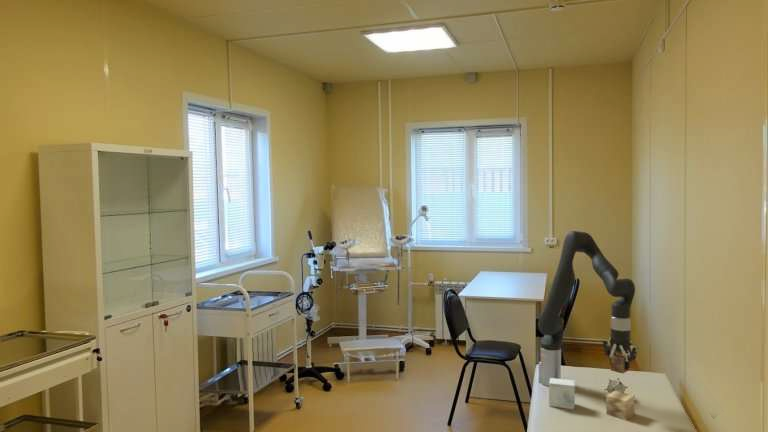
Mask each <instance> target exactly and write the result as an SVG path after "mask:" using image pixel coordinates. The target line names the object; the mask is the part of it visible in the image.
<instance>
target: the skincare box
mask: <svg viewBox="0 0 768 432" xmlns="http://www.w3.org/2000/svg"><path fill="white" fill-rule="evenodd" d="M575 394H576V381H575V380H574V379H573V380H570V379H564V378H561V379H555V378H550V381H549V386H548V407H555V408H560V409H569V410H575V406H576V405H575V402H576V401H575V400H576V399H575V398H576V397H575Z"/></svg>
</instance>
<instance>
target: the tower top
mask: <svg viewBox="0 0 768 432" xmlns="http://www.w3.org/2000/svg"><path fill="white" fill-rule="evenodd" d="M606 405H608V406H611V407H614V408H617V409H621V410H624V411H626V410H627V409H629V408H631V407H632V406H634V407H635V395H632V394H629V393H625V392H624V393H623V392H619V391H613V392H612V393H608V394H606V395H605V406H606Z"/></svg>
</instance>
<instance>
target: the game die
mask: <svg viewBox="0 0 768 432" xmlns="http://www.w3.org/2000/svg"><path fill="white" fill-rule="evenodd" d="M608 381H609V382H608V385H607V387H606V388H605V389H604V391H607V392H608V394H610V393H612V392H613V391H619V392H623V393H625V391H626V389H628V387H629V386H625V385H624V384H623V382H622V381H620V378H619V377H617V379H613V380H612V379H609V380H608Z"/></svg>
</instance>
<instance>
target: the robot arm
mask: <svg viewBox="0 0 768 432" xmlns="http://www.w3.org/2000/svg"><path fill="white" fill-rule="evenodd" d="M576 253H584V254H585V255H586V256H588V257H589V259H591V265H592V268H593V271H594V272H595V273H596V274H597V276H598V277H599V278H600V279H601V280H602V282H603V284H604V287H605V289H606V291H607V293H608V294H609V295H610V296H612V297H614V298H617V297H618V298H619V299H618V300H616V301H614V302H612V304H611V316H610V339H609V340H608V339H606V340H603V342H602V344H603V349H604V353H605V356H607V357H609V365H610V366H611V356H613V355H615V354H618V353H619V354H621V355H623V356H624V358H625V370H626V371H627V370H628V369H631V362H633V361H635V360H636V358H637V354H638V350H639V347H638V346H637V345H636V346H634V345H633V344H632V343H631V334H632V333H631V328H632V324H631V323H632V322H631V307H632V303H633V300H634V298H635V297H634V296H635V293H636V286H635V283H634V282H633V280H631V279H630V278H619V271H618V270H617V269H616V268H615V266H613V265H612V264H611V262H610V261H609V260H608V259H607V257H606V256H605V255H604V254H603V253H602V250H601V249H600V248H599V246H598V244H597V243H596V242H595V240H594V239H593V237H592V236H591V234H589V233H587V232H585V231H576V230H572V231H571V230H570V231H569V232H568V233H567V234H566V236H565V238H564V241H563V245H562V250H561V254H560V259H559V261H558V264H557V265H558V266H557V269H556V272H555V275H554V277H553V280H552V283H551V287H550V290H549V293H548V297H547V300H546V304H545V306H544V309H543V310H542V312H541V315H540V318H539V319H538V323H537V325H538V330H539V332H540V333H541V334H542V335H543V337H542V339H541V340H540V361H539V362H538V383H539V384H541V385H542V386H546V387H549V381H550V378H555V379H562V377H561V375H562V372H561V371H562V369H561V368H562V344H563V340H564V339H563V338H564V321H563V318H562V317H561V315H560V314H561V311H562V309H563V307H564V306H565V304H566V303H567V301H568V300H569V298H570V297H571V295H572V292H573V289H574V287H575V284H576V276H575V275H576V274H575V270H574V266H573V264H574V257H575V256H576ZM610 346H611V347H612V348H610ZM630 351H631V353H630ZM627 372H628V371H627Z"/></svg>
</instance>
